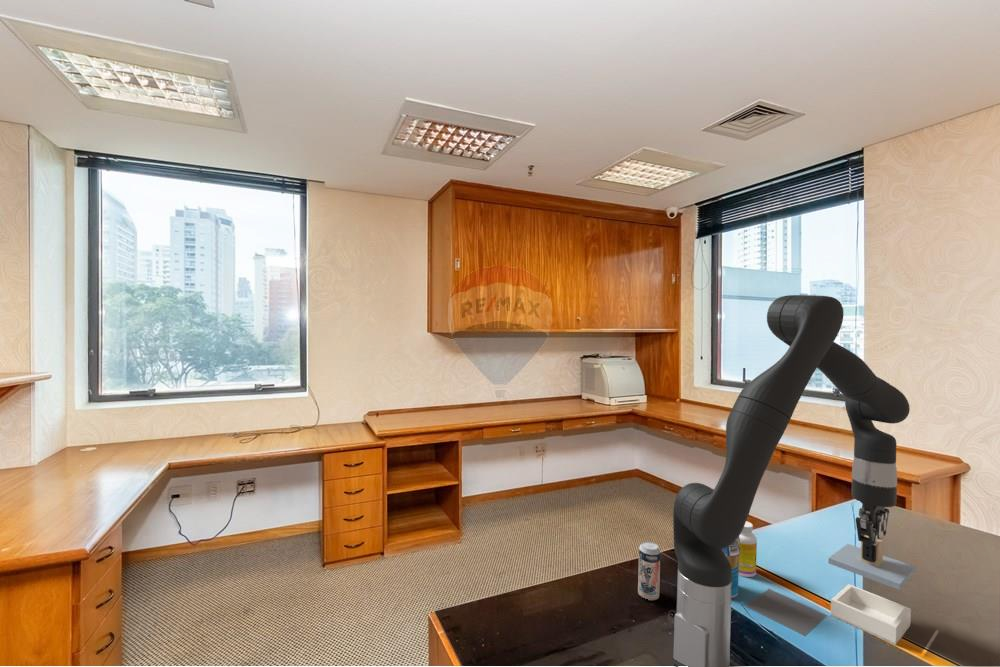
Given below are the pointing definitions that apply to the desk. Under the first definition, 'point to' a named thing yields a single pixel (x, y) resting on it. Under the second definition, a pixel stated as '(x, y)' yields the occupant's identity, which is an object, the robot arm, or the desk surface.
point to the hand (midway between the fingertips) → (871, 557)
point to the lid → (873, 565)
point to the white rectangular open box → (871, 613)
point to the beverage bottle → (733, 564)
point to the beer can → (649, 571)
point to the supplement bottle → (747, 551)
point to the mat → (786, 611)
